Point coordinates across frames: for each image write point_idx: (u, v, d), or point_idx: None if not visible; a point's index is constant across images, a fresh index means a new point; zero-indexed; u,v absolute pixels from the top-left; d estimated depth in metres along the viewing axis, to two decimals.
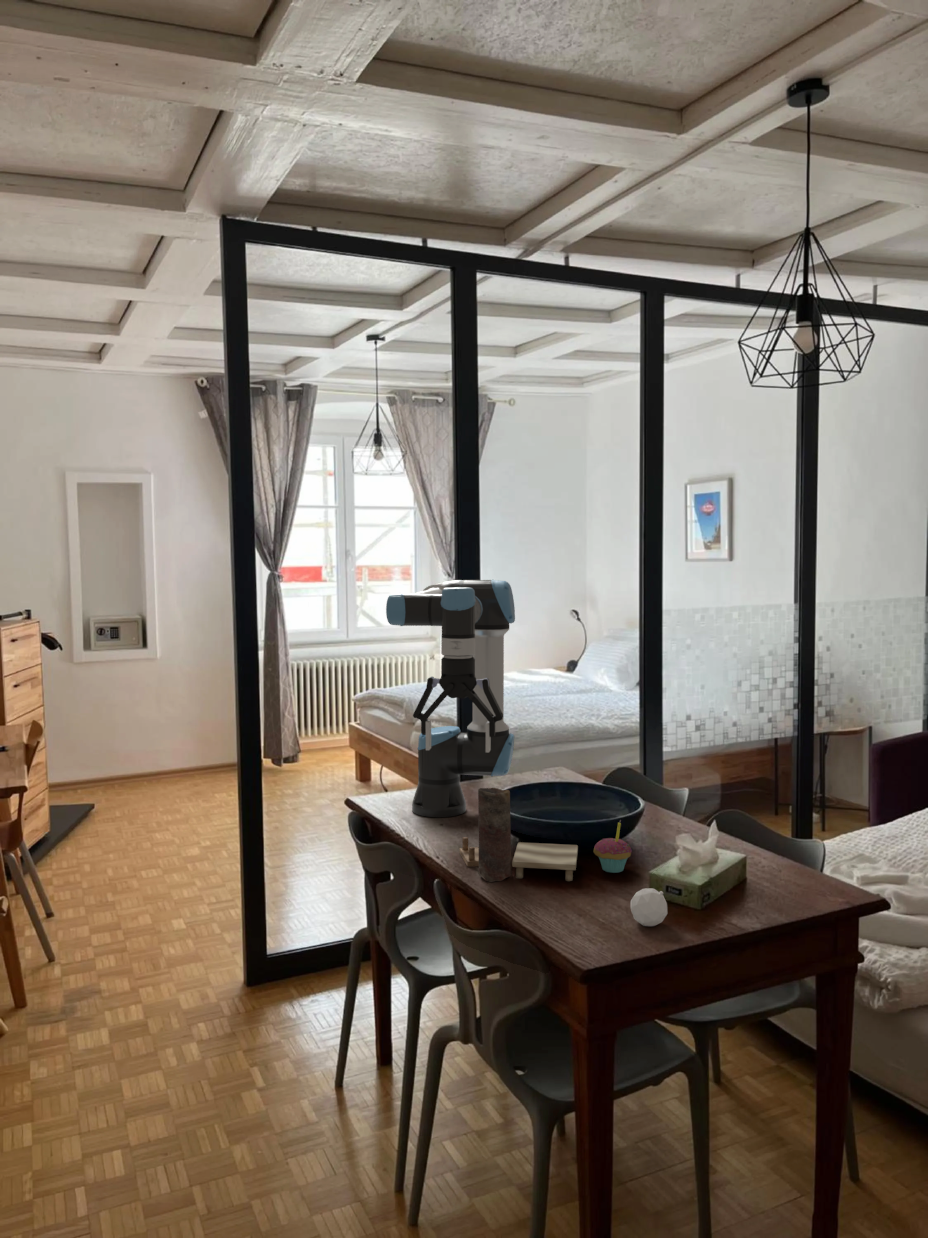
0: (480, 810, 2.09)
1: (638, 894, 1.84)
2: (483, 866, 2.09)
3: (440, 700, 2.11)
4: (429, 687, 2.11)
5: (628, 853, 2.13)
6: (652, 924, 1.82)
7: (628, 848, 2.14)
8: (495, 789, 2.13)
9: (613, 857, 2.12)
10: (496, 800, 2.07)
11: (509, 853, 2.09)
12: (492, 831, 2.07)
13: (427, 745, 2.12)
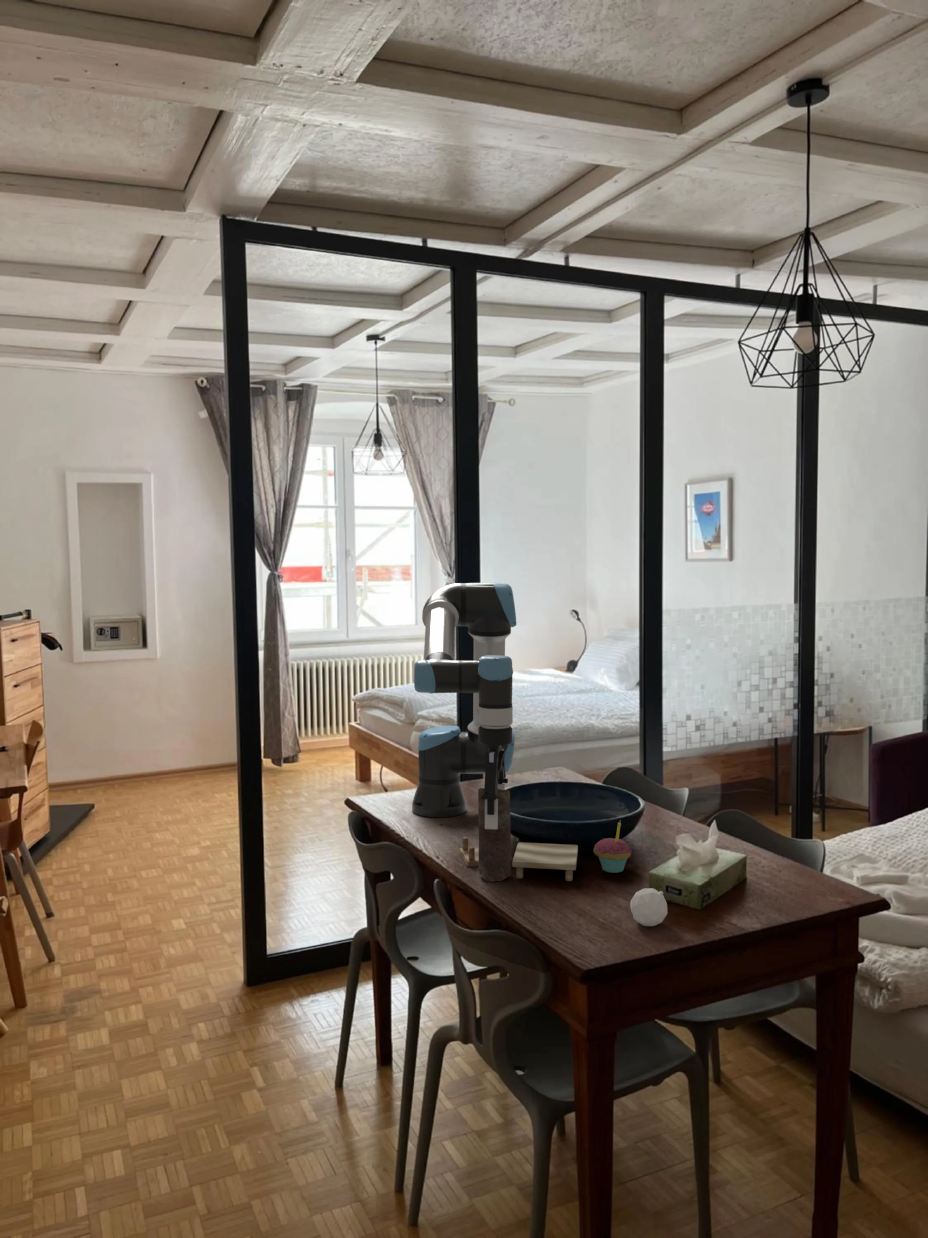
0: (480, 810, 2.09)
1: (638, 894, 1.84)
2: (483, 866, 2.09)
3: None
4: None
5: (628, 853, 2.13)
6: (652, 924, 1.82)
7: (628, 848, 2.14)
8: None
9: (613, 857, 2.12)
10: None
11: (509, 853, 2.09)
12: (492, 831, 2.07)
13: None
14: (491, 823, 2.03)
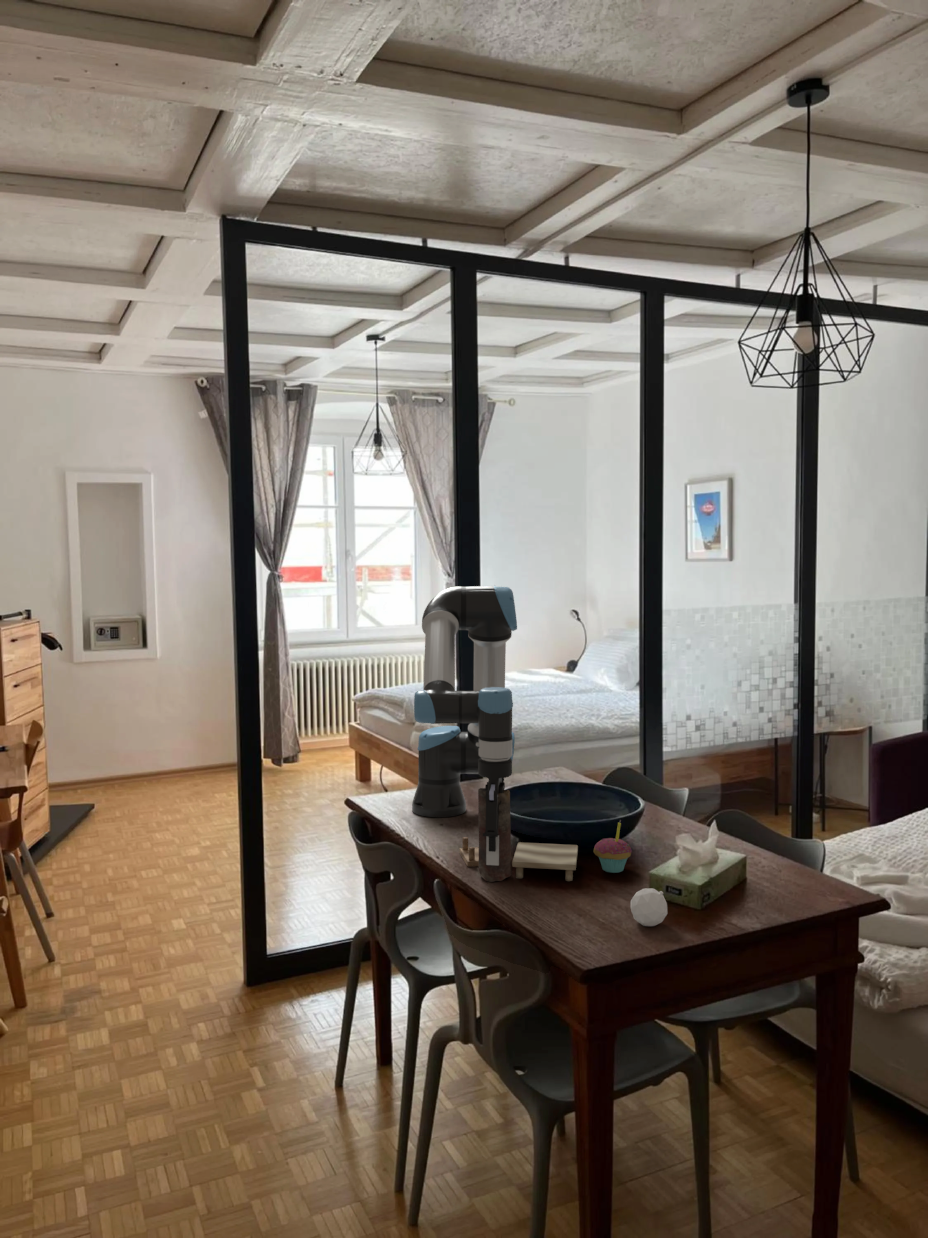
0: (480, 810, 2.09)
1: (638, 894, 1.84)
2: (483, 866, 2.09)
3: None
4: None
5: (628, 853, 2.13)
6: (652, 924, 1.82)
7: (628, 848, 2.14)
8: None
9: (613, 857, 2.12)
10: None
11: (509, 853, 2.09)
12: None
13: None
14: (492, 859, 2.07)
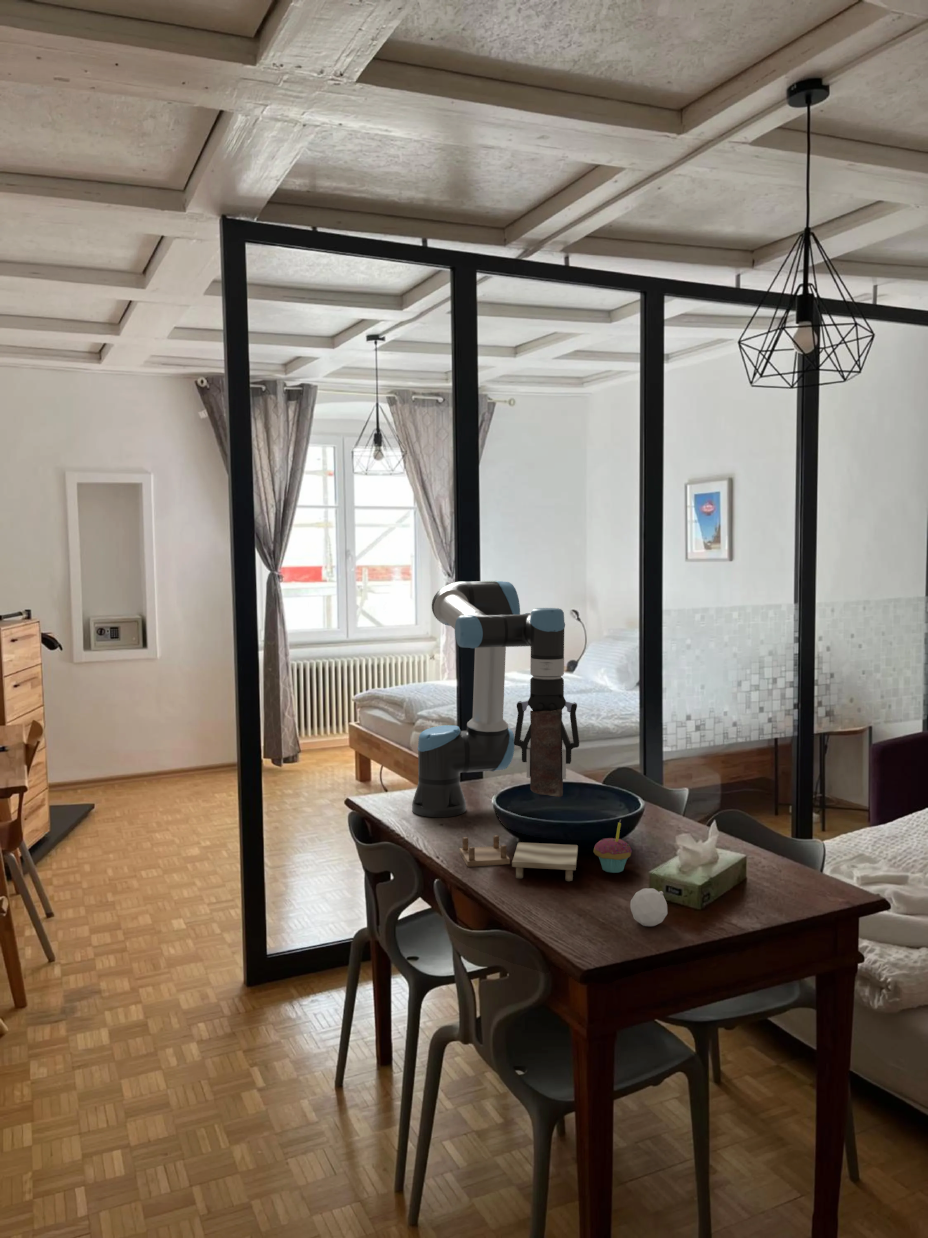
0: (554, 730, 2.10)
1: (638, 894, 1.84)
2: (558, 783, 2.12)
3: None
4: (520, 712, 2.13)
5: (628, 853, 2.13)
6: (652, 924, 1.82)
7: (628, 848, 2.14)
8: None
9: (613, 857, 2.12)
10: None
11: None
12: None
13: (528, 772, 2.13)
14: None
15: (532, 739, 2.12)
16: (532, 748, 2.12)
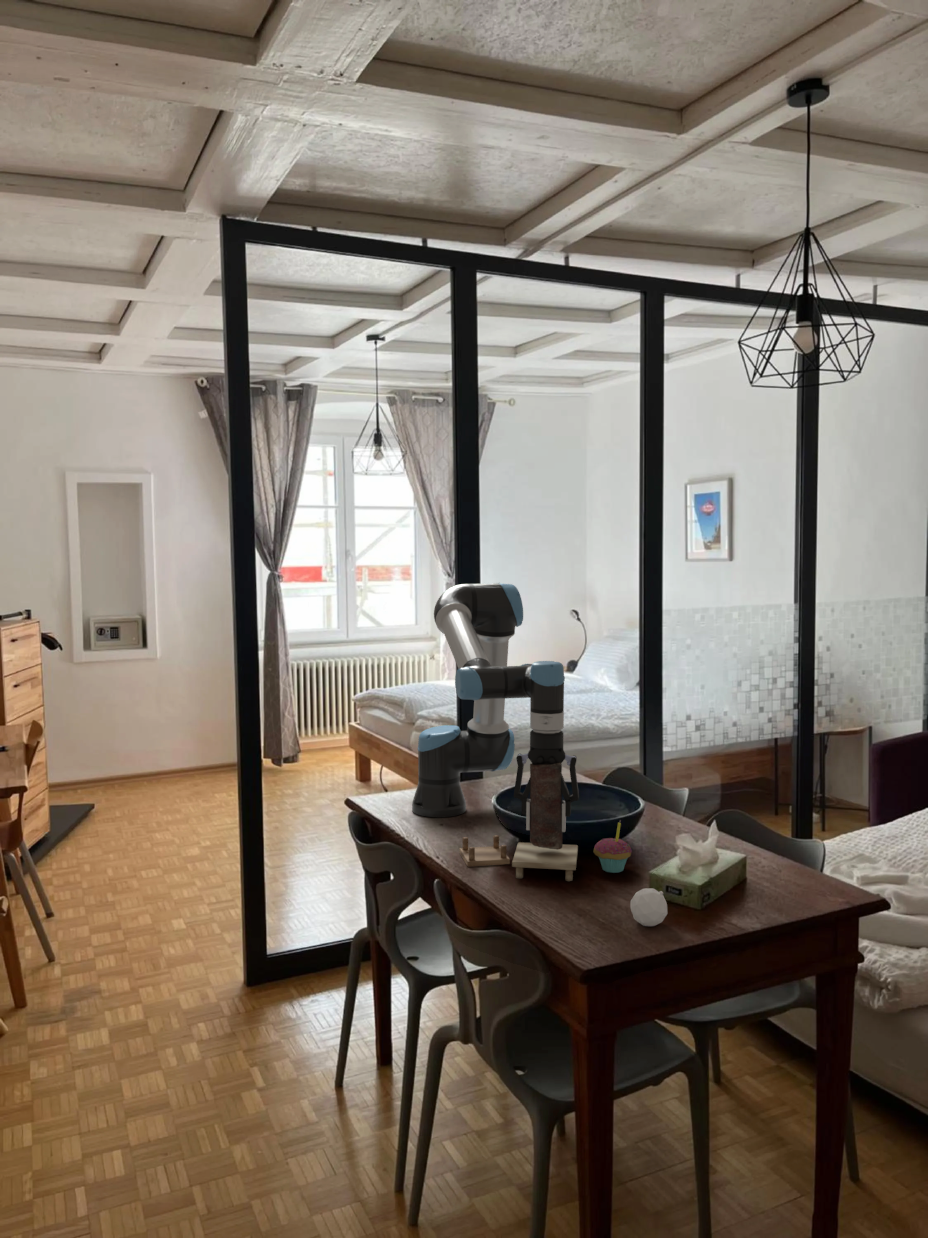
0: (554, 783, 2.11)
1: (638, 894, 1.84)
2: (558, 836, 2.13)
3: None
4: (520, 765, 2.14)
5: (628, 853, 2.13)
6: (652, 924, 1.82)
7: (628, 848, 2.14)
8: None
9: (613, 857, 2.12)
10: None
11: None
12: (561, 798, 2.14)
13: (528, 825, 2.14)
14: (565, 824, 2.14)
15: (532, 792, 2.13)
16: (532, 801, 2.13)
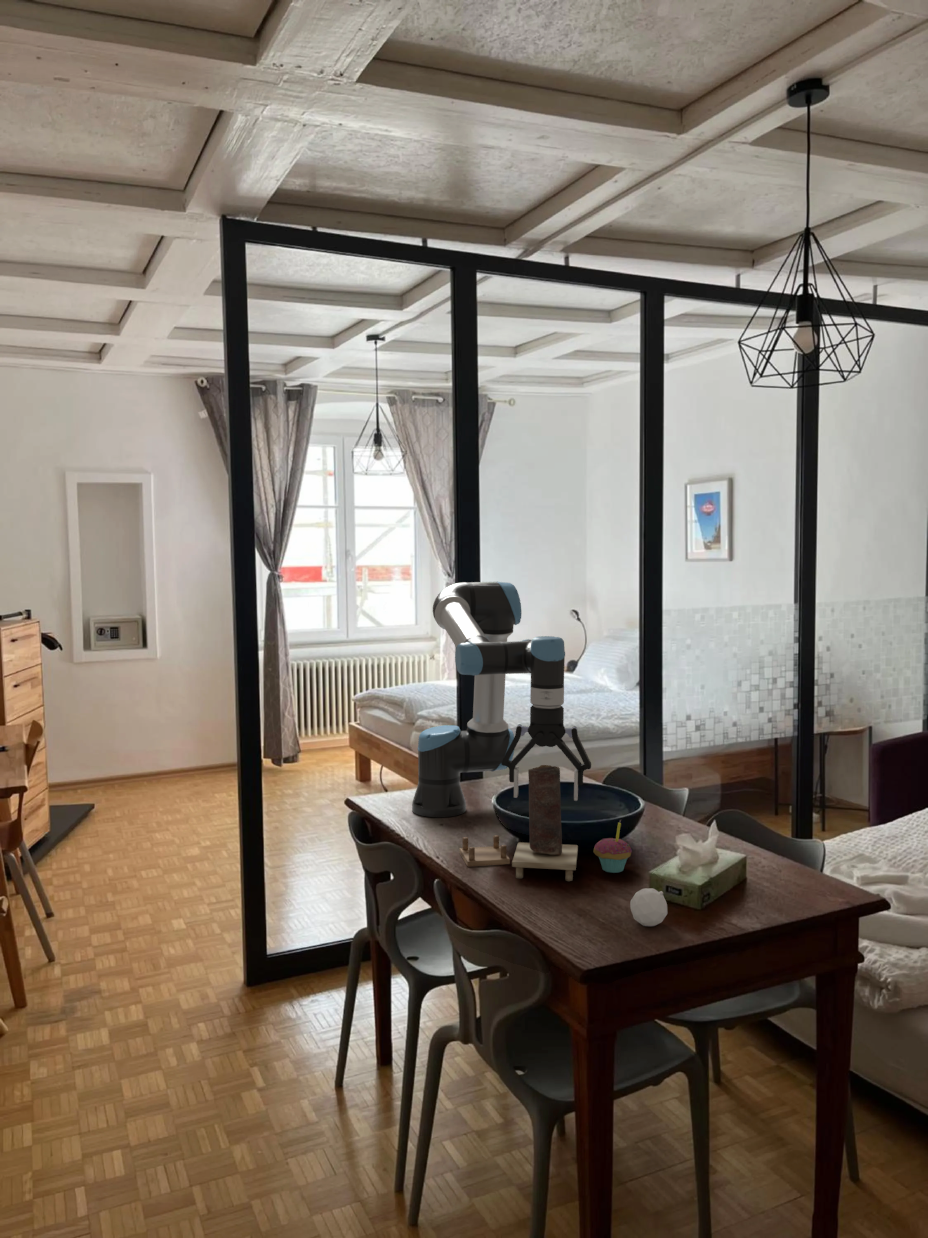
0: (553, 789, 2.11)
1: (638, 894, 1.84)
2: (557, 842, 2.13)
3: (529, 748, 2.13)
4: (518, 735, 2.13)
5: (628, 853, 2.13)
6: (652, 924, 1.82)
7: (628, 848, 2.14)
8: None
9: (613, 857, 2.12)
10: None
11: None
12: (560, 803, 2.14)
13: (515, 792, 2.14)
14: None
15: (530, 798, 2.13)
16: (531, 807, 2.13)
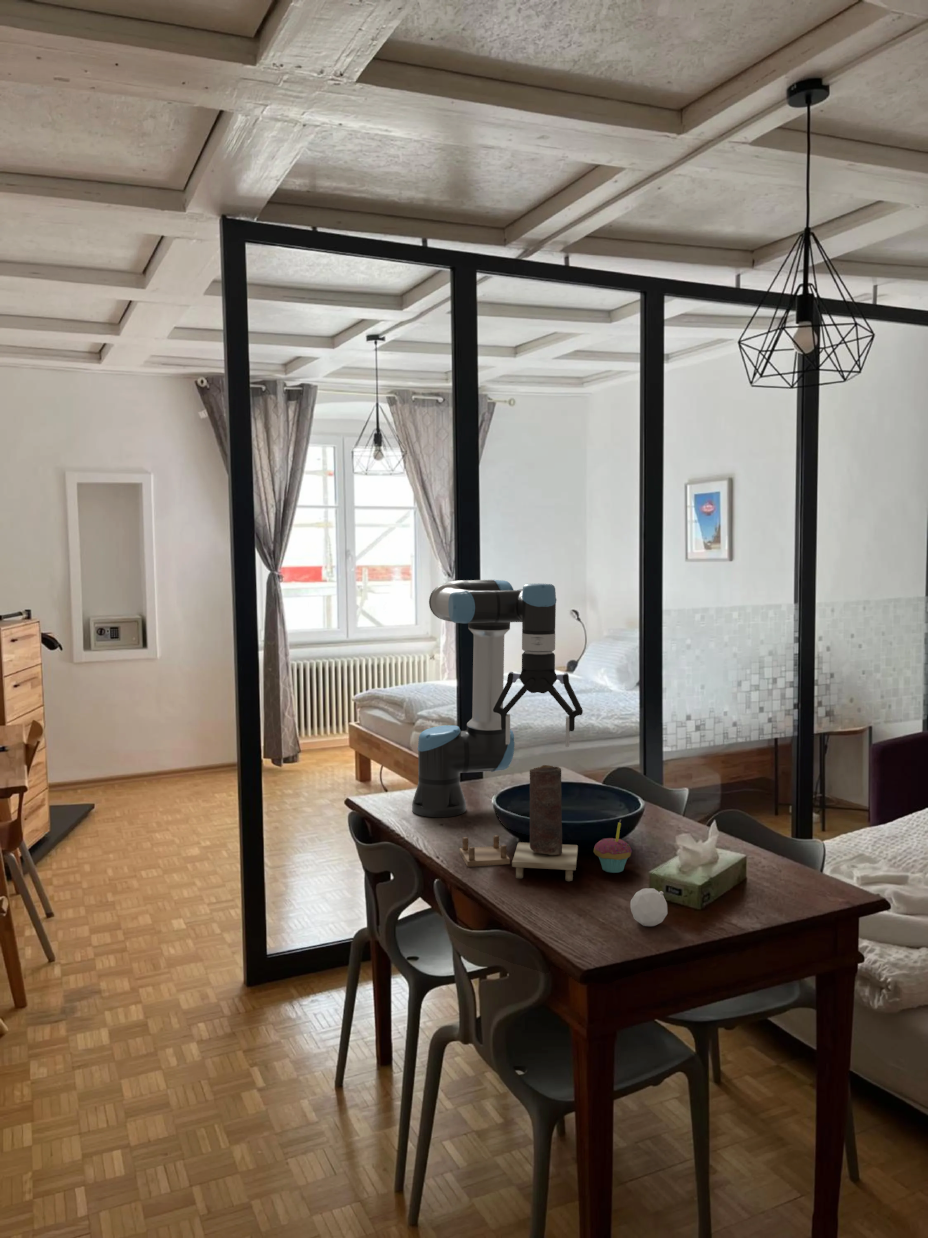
0: (554, 789, 2.11)
1: (638, 894, 1.84)
2: (558, 842, 2.13)
3: (520, 695, 2.14)
4: (509, 682, 2.14)
5: (628, 853, 2.13)
6: (652, 924, 1.82)
7: (628, 848, 2.14)
8: (533, 770, 2.14)
9: (613, 857, 2.12)
10: None
11: None
12: None
13: (507, 739, 2.15)
14: None
15: (531, 798, 2.13)
16: (531, 807, 2.13)
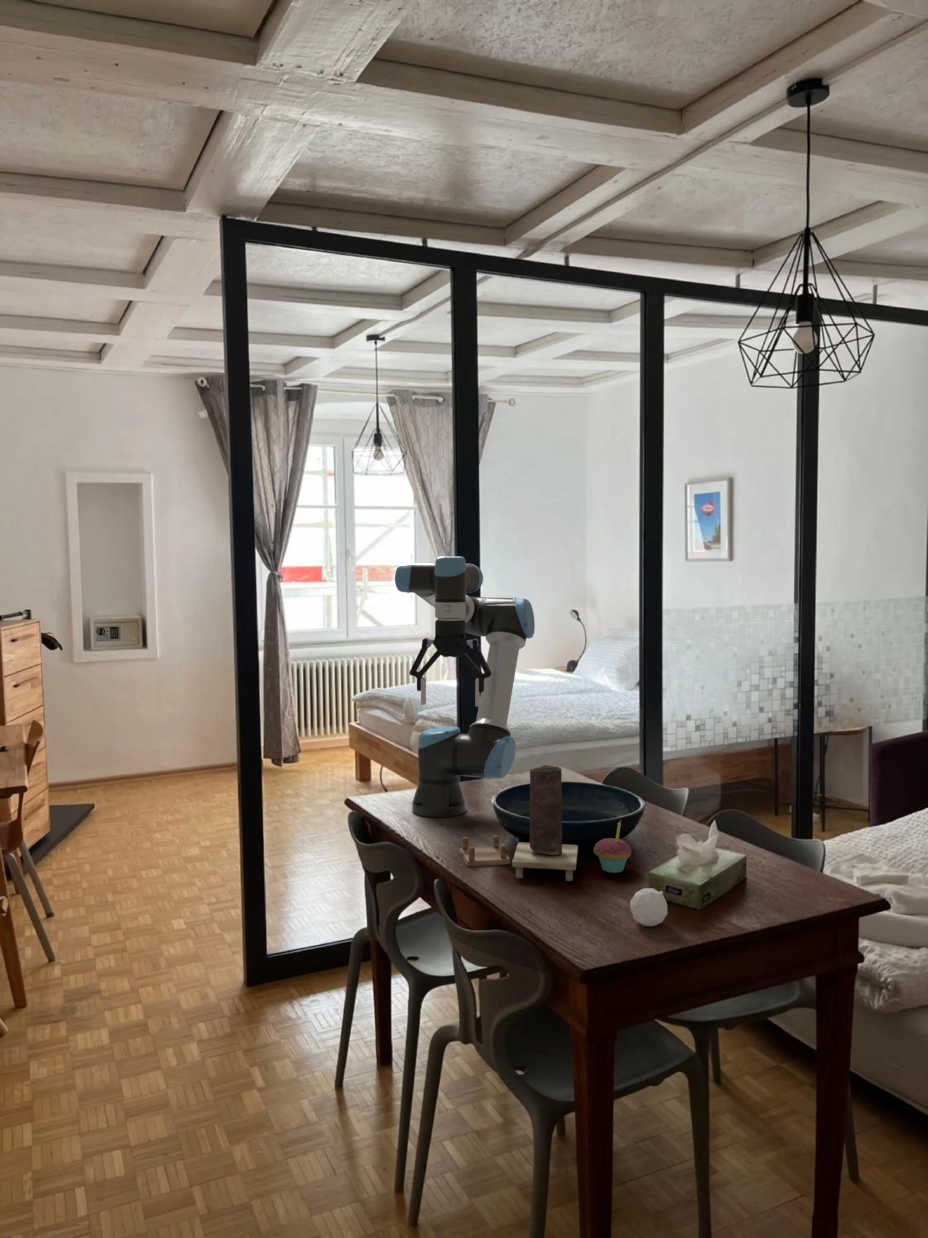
0: (554, 789, 2.11)
1: (638, 894, 1.84)
2: (558, 842, 2.13)
3: (434, 659, 2.32)
4: (424, 647, 2.32)
5: (628, 853, 2.13)
6: (652, 924, 1.82)
7: (628, 848, 2.14)
8: None
9: (613, 857, 2.12)
10: None
11: None
12: (561, 804, 2.14)
13: (422, 700, 2.33)
14: (479, 700, 2.33)
15: (532, 798, 2.13)
16: (532, 807, 2.13)
